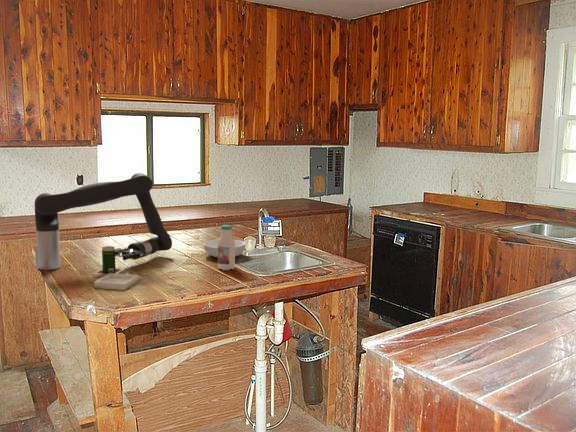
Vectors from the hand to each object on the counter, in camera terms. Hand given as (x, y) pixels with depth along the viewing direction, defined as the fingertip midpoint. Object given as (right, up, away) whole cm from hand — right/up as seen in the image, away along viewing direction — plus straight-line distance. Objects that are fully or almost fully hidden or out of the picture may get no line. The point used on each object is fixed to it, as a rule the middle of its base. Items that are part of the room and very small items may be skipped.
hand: (115, 256), depth 238 cm
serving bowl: (+44, -3, +35) cm, 56 cm away
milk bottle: (+47, -6, +12) cm, 49 cm away
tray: (+6, -10, -17) cm, 21 cm away
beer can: (-2, -8, -3) cm, 8 cm away
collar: (-2, -7, -3) cm, 8 cm away
